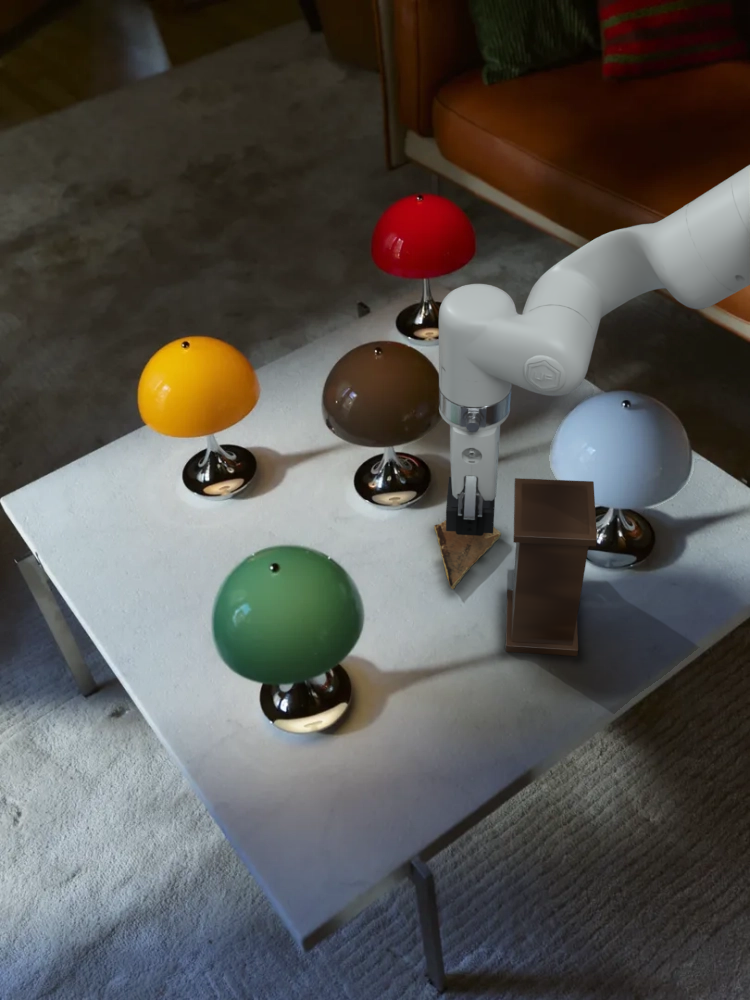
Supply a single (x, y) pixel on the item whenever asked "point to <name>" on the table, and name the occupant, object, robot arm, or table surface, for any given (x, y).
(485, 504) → the dark grey block
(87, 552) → the table surface
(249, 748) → the table surface
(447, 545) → the shard
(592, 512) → the pedestal
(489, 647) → the table surface
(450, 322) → the robot arm
